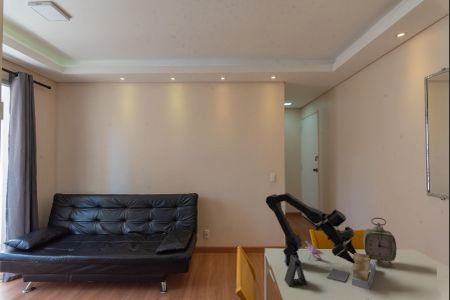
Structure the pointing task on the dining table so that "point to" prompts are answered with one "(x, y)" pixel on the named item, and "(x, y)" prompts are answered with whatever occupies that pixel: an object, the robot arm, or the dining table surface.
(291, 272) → the phone stand
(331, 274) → the rubber mat
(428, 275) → the dining table surface
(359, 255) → the oak block
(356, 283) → the shelf
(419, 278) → the dining table surface
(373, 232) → the tabletop clock
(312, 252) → the lily
